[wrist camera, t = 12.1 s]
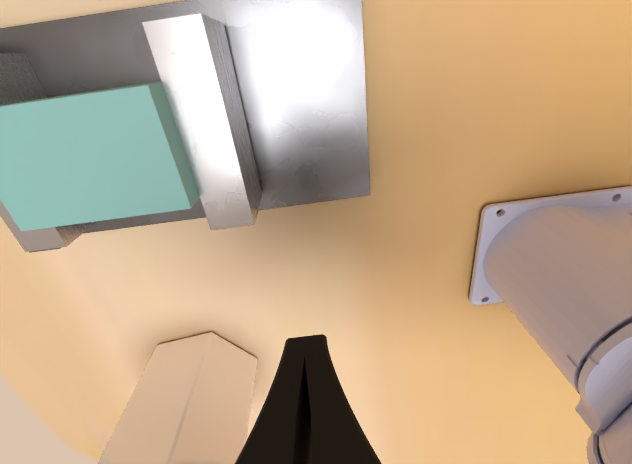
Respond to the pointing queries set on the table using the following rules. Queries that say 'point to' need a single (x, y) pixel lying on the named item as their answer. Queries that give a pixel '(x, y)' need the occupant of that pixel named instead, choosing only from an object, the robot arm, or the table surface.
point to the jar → (187, 406)
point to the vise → (253, 83)
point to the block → (92, 158)
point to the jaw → (208, 115)
